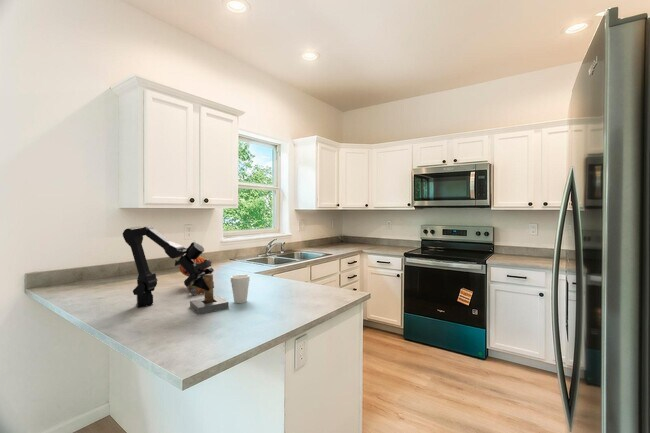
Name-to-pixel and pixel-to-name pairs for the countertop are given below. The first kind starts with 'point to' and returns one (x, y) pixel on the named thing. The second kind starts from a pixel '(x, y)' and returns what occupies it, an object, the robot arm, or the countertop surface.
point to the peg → (209, 294)
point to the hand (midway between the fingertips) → (211, 289)
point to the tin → (195, 289)
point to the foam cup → (240, 287)
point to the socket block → (209, 305)
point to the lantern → (198, 260)
